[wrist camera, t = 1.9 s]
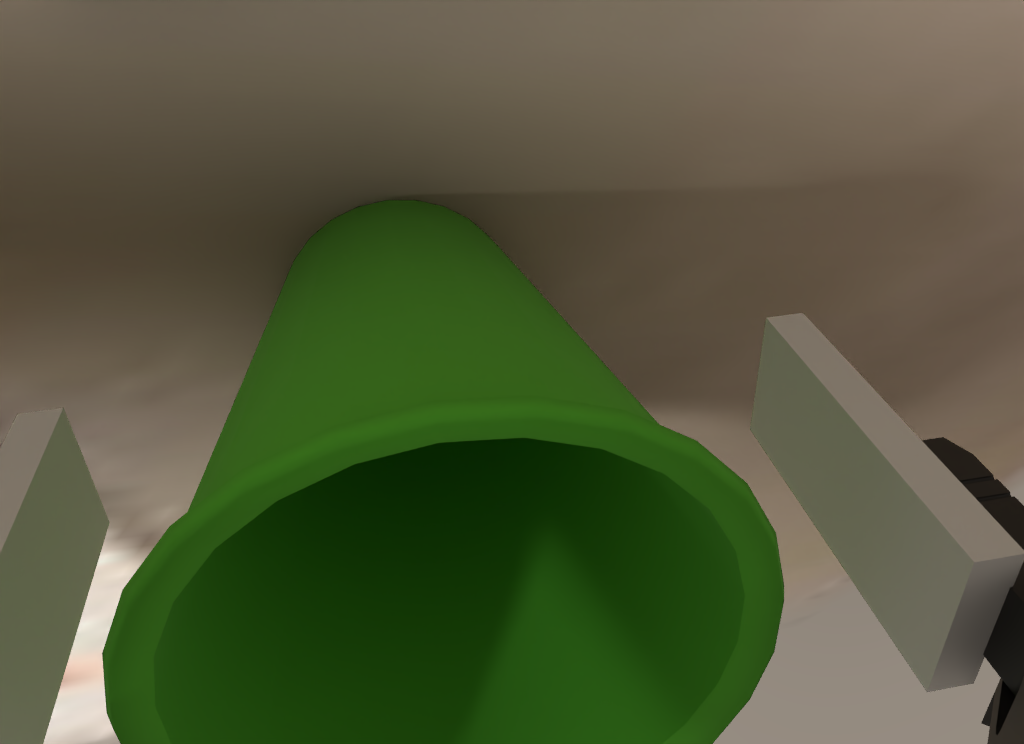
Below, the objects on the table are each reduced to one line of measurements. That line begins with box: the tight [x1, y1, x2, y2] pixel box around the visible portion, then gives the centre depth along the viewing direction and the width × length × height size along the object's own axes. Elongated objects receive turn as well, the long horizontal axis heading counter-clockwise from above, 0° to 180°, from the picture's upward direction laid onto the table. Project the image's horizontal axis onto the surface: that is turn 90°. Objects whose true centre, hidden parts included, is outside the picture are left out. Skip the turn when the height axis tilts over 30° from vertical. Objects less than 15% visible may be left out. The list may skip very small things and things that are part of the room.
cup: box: [102, 200, 784, 744], centre depth 16 cm, size 9×9×11 cm
